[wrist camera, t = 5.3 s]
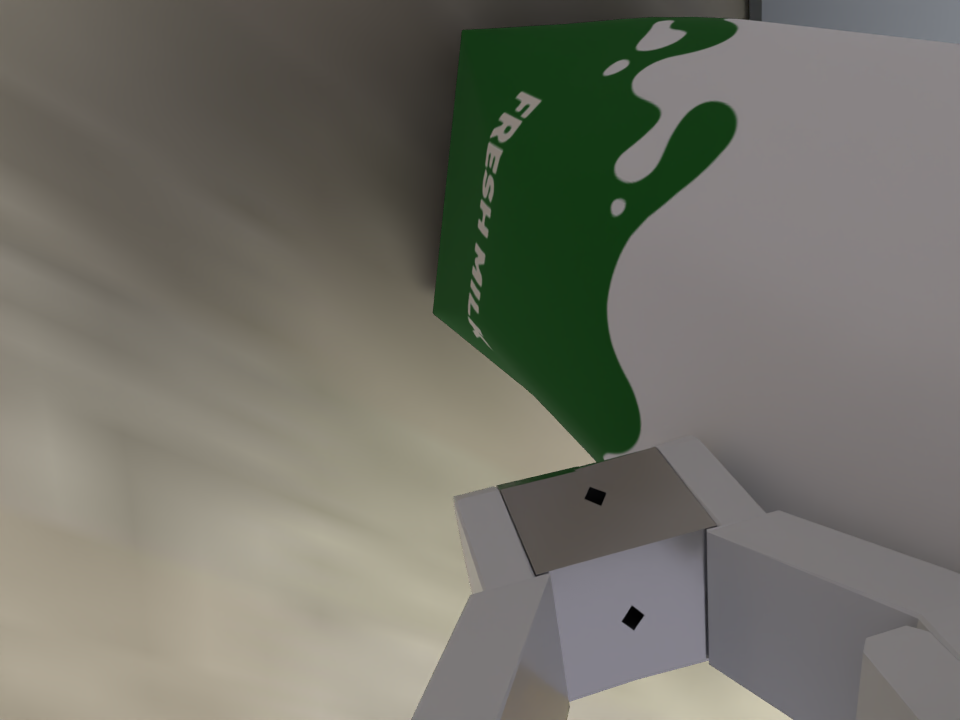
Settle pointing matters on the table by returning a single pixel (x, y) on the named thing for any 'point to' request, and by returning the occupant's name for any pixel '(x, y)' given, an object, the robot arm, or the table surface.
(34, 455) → the table surface
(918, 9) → the mat
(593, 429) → the white carton
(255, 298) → the table surface
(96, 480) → the table surface
